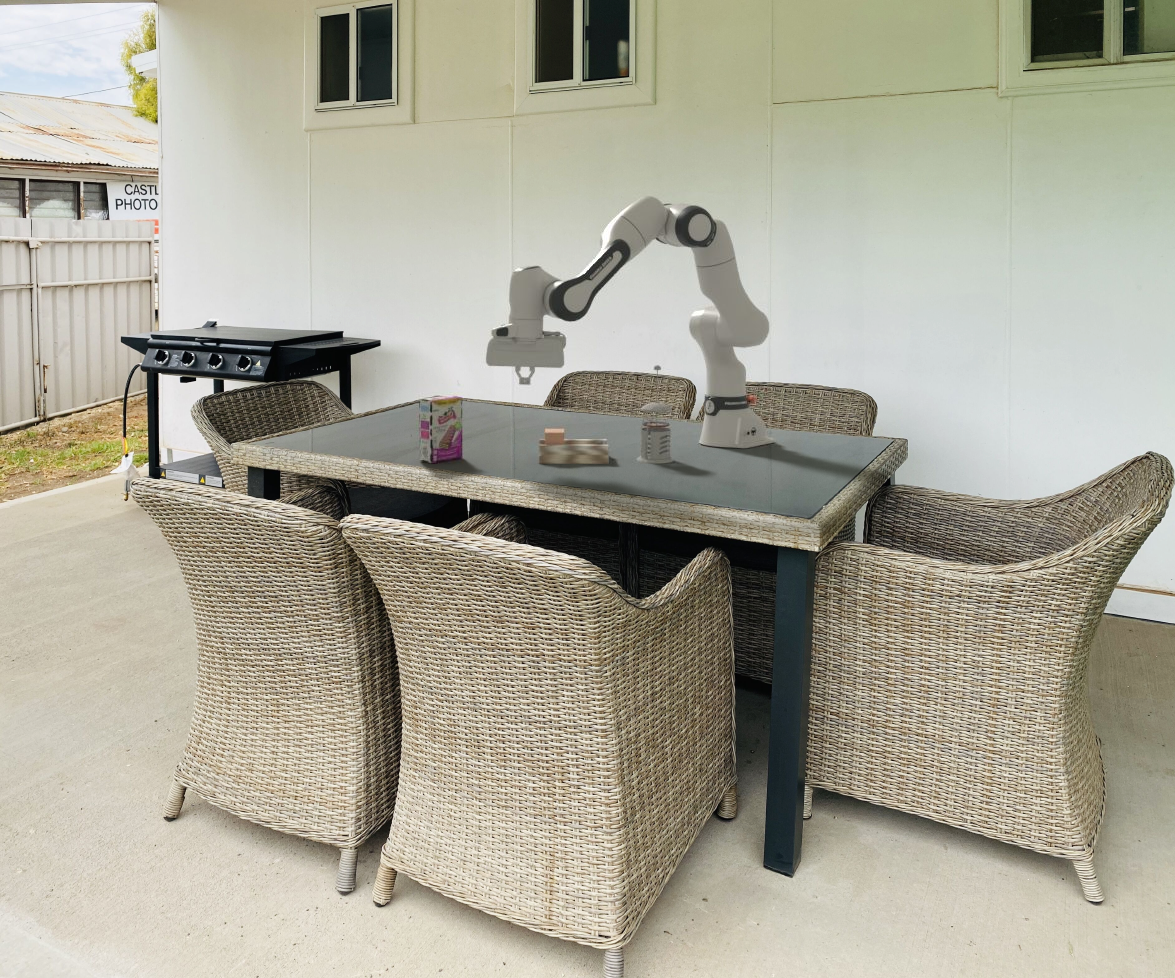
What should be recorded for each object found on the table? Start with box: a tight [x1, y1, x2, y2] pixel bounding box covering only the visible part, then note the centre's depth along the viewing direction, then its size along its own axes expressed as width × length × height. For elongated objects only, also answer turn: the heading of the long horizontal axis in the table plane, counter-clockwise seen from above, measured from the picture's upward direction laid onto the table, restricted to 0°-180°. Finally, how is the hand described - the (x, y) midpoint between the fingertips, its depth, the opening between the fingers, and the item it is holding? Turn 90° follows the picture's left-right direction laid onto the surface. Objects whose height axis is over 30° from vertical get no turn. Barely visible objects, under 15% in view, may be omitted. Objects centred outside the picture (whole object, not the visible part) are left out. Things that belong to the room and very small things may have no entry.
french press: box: [636, 364, 674, 464], centre depth 254 cm, size 10×12×25 cm
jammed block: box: [544, 428, 565, 445], centre depth 256 cm, size 5×6×6 cm
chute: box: [538, 438, 610, 465], centre depth 257 cm, size 18×12×4 cm, turn 92°
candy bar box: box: [418, 395, 463, 464], centre depth 253 cm, size 11×5×16 cm, turn 141°
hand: (524, 384), depth 253 cm, fingers closed
